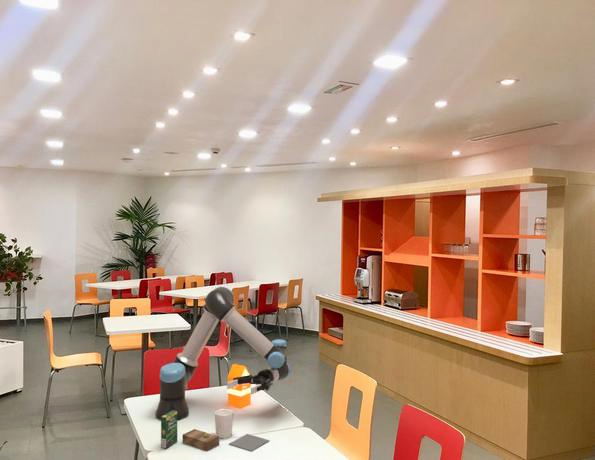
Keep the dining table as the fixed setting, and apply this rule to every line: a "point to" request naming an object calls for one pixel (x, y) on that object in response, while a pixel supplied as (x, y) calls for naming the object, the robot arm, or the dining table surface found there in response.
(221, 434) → the white cup
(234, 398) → the orange juice
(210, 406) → the dining table surface
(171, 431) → the coffee box
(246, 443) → the mat
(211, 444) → the walnut block
